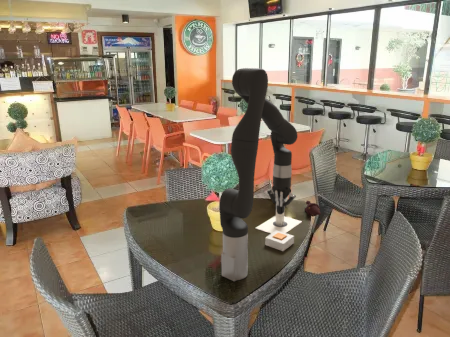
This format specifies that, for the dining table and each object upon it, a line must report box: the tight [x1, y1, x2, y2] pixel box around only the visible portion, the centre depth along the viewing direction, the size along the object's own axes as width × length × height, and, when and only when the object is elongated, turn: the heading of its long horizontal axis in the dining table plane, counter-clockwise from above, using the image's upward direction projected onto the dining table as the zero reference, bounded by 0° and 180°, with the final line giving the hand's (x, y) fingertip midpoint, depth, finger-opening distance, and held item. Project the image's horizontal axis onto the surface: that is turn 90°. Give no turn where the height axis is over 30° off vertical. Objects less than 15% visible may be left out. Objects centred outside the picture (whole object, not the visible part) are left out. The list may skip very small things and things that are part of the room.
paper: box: [255, 215, 303, 235], centre depth 181 cm, size 20×14×1 cm
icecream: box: [304, 200, 321, 217], centre depth 190 cm, size 7×7×15 cm
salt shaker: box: [275, 204, 286, 226], centre depth 180 cm, size 4×4×10 cm
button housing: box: [264, 230, 295, 252], centre depth 162 cm, size 9×9×4 cm
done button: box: [273, 233, 287, 241], centre depth 162 cm, size 4×4×2 cm
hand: (280, 213), depth 159 cm, fingers closed
